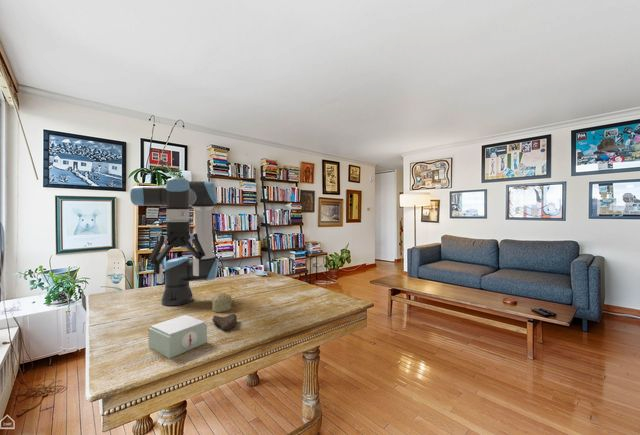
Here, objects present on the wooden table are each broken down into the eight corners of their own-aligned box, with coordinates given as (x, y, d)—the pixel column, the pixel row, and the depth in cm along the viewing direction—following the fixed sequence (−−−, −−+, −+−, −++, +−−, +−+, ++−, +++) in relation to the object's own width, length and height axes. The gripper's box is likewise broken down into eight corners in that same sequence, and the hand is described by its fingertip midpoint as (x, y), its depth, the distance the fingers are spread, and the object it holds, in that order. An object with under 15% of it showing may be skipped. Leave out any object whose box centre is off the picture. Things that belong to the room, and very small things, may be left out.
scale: (148, 347, 100) (148, 325, 99) (185, 333, 111) (185, 314, 111) (170, 359, 91) (170, 335, 91) (208, 342, 103) (208, 322, 103)
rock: (212, 322, 122) (212, 314, 122) (236, 320, 125) (237, 312, 125) (209, 332, 111) (209, 323, 111) (236, 330, 114) (236, 321, 114)
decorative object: (232, 316, 138) (238, 297, 144) (220, 310, 131) (227, 290, 136) (216, 316, 141) (223, 297, 147) (204, 309, 133) (212, 289, 139)
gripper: (146, 222, 88) (147, 288, 89) (214, 220, 109) (214, 274, 110) (135, 222, 93) (136, 284, 93) (202, 220, 113) (203, 271, 114)
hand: (178, 279), depth 101 cm, fingers open, 13 cm apart
